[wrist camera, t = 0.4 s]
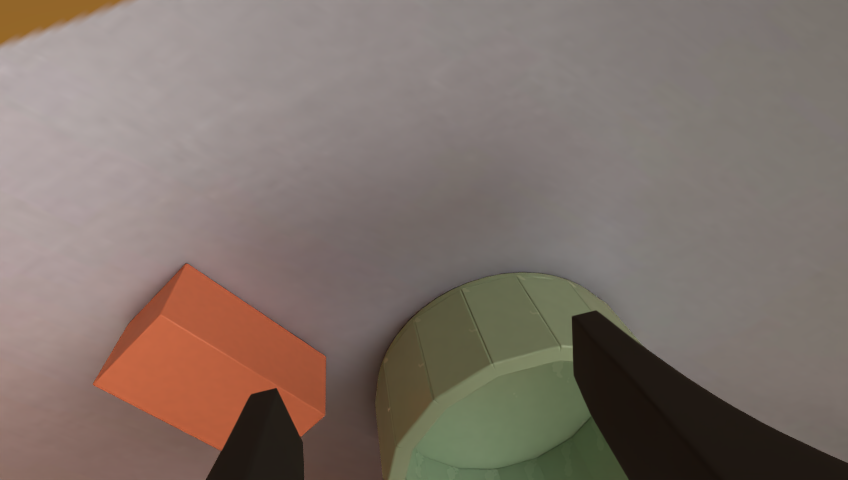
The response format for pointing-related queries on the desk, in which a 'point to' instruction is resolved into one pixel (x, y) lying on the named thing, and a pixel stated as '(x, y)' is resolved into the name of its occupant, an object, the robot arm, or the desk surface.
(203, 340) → the orange square prism
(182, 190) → the desk surface
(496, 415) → the pot
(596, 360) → the robot arm
